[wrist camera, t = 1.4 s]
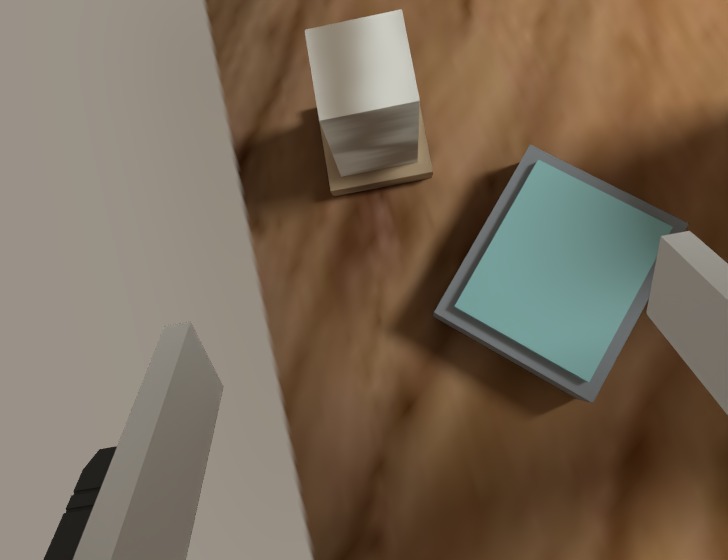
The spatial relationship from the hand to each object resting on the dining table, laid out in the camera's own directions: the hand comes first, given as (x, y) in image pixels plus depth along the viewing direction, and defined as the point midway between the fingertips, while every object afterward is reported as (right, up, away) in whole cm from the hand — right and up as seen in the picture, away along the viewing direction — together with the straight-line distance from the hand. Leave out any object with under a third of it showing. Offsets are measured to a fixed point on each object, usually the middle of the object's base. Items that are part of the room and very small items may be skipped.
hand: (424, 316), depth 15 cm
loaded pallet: (-1, +12, +27) cm, 30 cm away
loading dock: (+12, +1, +24) cm, 27 cm away
